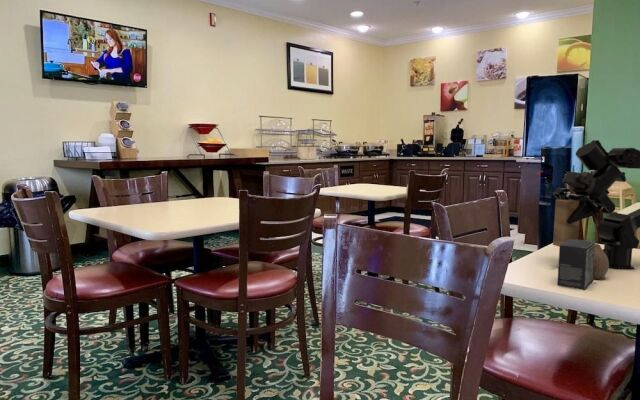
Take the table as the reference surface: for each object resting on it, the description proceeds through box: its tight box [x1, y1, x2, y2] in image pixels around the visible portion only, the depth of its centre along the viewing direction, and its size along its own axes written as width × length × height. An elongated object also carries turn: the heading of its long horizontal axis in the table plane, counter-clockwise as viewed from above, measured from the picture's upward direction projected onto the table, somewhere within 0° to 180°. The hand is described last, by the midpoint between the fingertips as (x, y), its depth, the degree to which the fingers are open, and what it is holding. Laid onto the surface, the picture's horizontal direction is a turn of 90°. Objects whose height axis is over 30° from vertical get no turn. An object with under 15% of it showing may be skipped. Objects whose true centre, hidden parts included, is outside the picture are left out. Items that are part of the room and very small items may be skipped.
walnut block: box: [552, 199, 580, 248], centre depth 131 cm, size 4×4×13 cm
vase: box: [593, 243, 610, 280], centre depth 123 cm, size 7×7×9 cm
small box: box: [557, 239, 596, 291], centre depth 117 cm, size 11×6×10 cm, turn 141°
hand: (562, 221), depth 131 cm, fingers closed on walnut block, 4 cm apart
